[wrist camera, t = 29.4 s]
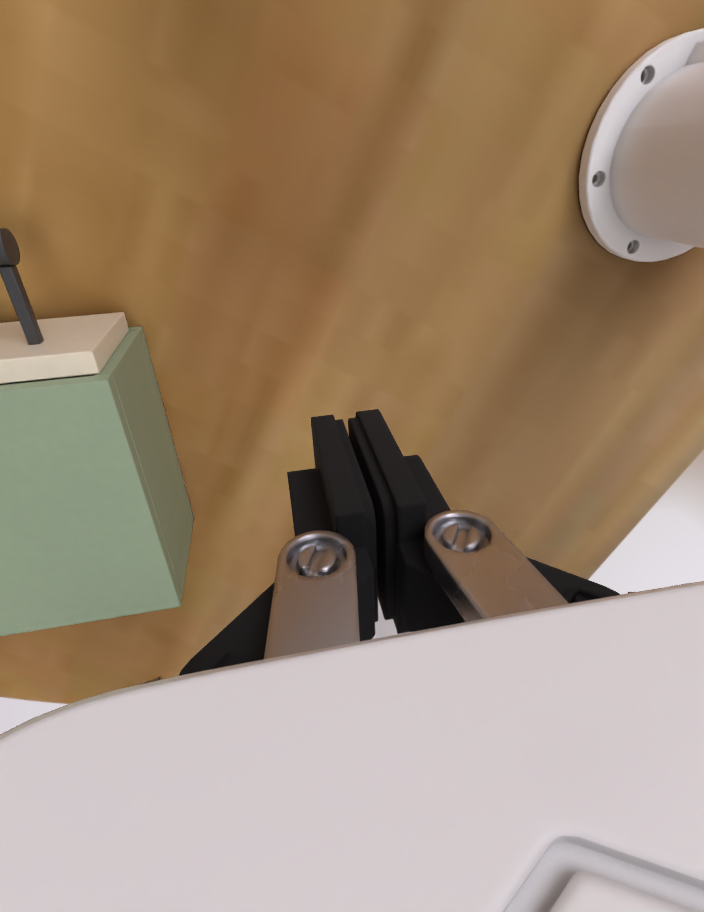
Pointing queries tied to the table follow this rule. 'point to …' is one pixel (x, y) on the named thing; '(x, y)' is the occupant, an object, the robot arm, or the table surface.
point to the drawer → (50, 334)
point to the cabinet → (90, 497)
